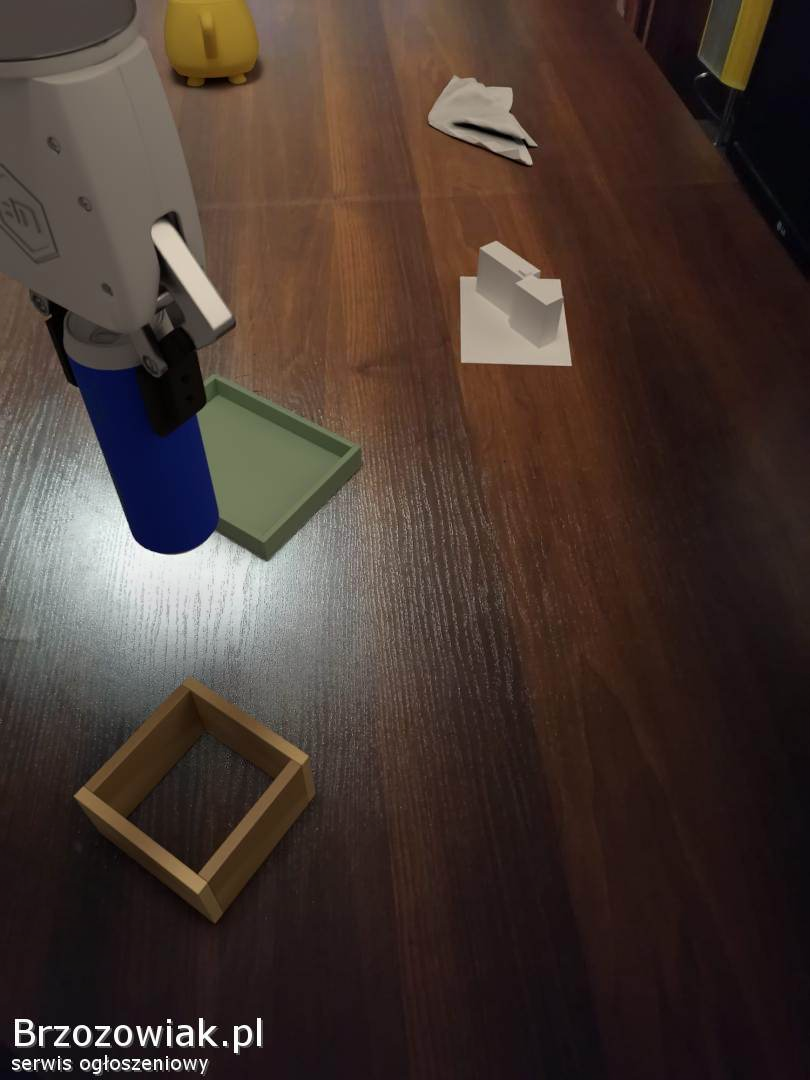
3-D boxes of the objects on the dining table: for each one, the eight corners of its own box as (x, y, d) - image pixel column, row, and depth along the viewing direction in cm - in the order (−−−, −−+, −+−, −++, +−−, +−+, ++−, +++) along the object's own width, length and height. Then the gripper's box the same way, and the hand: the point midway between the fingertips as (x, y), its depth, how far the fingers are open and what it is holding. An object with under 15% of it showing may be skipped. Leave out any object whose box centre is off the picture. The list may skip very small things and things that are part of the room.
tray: (118, 474, 76) (111, 454, 75) (218, 392, 83) (214, 372, 81) (267, 561, 71) (263, 542, 69) (362, 466, 77) (361, 446, 76)
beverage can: (153, 487, 53) (88, 276, 41) (233, 502, 52) (189, 292, 41) (117, 551, 50) (36, 342, 38) (201, 568, 49) (144, 360, 38)
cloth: (417, 80, 127) (417, 64, 125) (509, 77, 128) (511, 61, 126) (440, 170, 110) (441, 153, 109) (545, 166, 111) (548, 149, 110)
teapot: (257, 40, 135) (247, -52, 125) (265, 97, 123) (254, 0, 113) (170, 44, 133) (153, -49, 124) (169, 103, 121) (150, 5, 111)
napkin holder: (458, 276, 96) (461, 229, 92) (560, 278, 96) (568, 231, 91) (461, 363, 87) (464, 316, 82) (574, 366, 87) (583, 318, 82)
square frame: (99, 832, 56) (73, 796, 52) (204, 717, 62) (189, 674, 57) (215, 924, 53) (197, 894, 48) (316, 793, 58) (309, 755, 54)
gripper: (-230, -40, 30) (-34, 367, 44) (108, 97, 24) (211, 518, 38) (-47, -93, 34) (80, 297, 48) (284, 14, 28) (318, 424, 42)
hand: (137, 392), depth 43 cm, fingers closed on beverage can, 5 cm apart
